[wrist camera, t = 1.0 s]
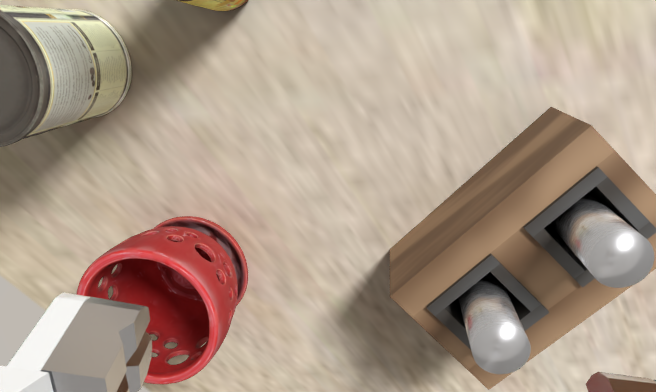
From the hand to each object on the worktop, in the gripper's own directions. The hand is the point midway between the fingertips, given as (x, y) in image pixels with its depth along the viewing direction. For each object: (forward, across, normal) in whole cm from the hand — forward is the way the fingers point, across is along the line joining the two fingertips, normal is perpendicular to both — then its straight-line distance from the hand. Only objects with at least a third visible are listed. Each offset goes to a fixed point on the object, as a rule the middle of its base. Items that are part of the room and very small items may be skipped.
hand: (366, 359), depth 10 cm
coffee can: (+41, -26, -13) cm, 51 cm away
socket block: (+36, +17, -21) cm, 45 cm away
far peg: (+29, +14, -23) cm, 40 cm away
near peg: (+31, +19, -15) cm, 40 cm away
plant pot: (+35, -14, -31) cm, 49 cm away
